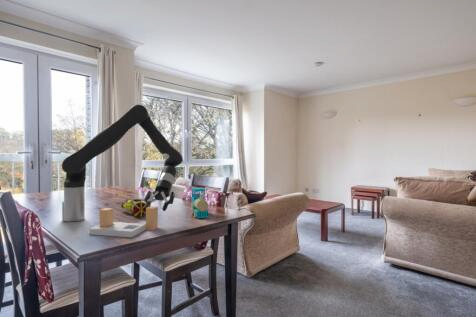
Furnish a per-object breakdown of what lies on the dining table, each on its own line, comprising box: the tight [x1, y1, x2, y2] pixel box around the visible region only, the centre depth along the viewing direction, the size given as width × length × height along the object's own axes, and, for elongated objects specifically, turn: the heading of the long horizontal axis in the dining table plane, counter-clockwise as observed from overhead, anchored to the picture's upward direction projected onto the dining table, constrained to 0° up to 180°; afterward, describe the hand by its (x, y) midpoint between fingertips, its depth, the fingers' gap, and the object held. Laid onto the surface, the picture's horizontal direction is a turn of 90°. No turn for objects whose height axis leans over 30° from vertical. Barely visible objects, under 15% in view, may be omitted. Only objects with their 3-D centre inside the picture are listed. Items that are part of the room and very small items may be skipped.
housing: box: [89, 221, 147, 238], centre depth 123 cm, size 20×12×2 cm, turn 81°
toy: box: [121, 197, 147, 218], centre depth 160 cm, size 16×9×30 cm
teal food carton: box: [189, 187, 210, 219], centre depth 156 cm, size 8×17×15 cm, turn 21°
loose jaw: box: [145, 205, 159, 231], centre depth 129 cm, size 4×4×10 cm
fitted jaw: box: [99, 207, 114, 227], centre depth 124 cm, size 4×4×10 cm
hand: (155, 209), depth 132 cm, fingers open, 8 cm apart
